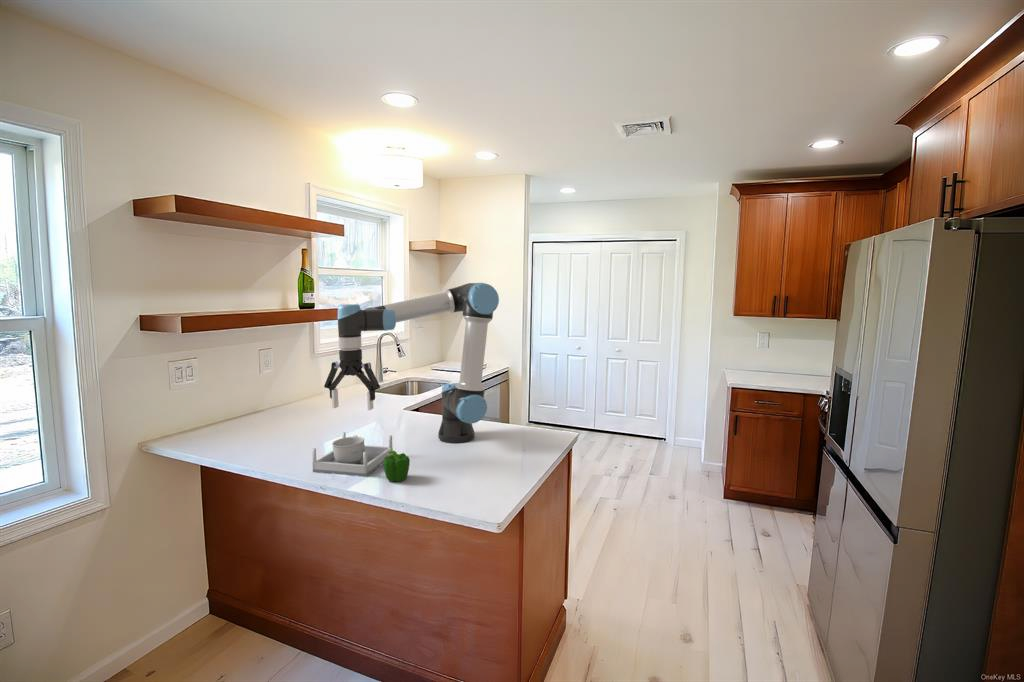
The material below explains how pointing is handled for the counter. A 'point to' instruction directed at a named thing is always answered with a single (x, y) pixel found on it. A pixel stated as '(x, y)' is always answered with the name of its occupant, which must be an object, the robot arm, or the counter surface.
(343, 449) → the teacup
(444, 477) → the counter surface
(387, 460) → the bell pepper
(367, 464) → the dish rack
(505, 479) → the counter surface
